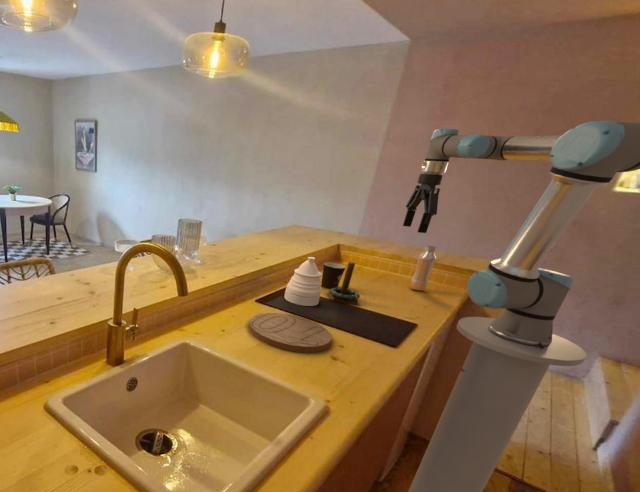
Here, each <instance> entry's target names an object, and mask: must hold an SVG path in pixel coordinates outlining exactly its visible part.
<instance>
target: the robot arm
mask: <svg viewBox="0 0 640 492" xmlns="http://www.w3.org/2000/svg"><path fill="white" fill-rule="evenodd" d="M459 132H460V131H459V129H457V128H437V129H435V130H434V131H433V133H432V136H431V138H430V140H429V143H428V147H427V150H426V153H425V156H424V160H423V163H421V169H420V172H421V173H420V174H419V176H418V179H417V181H416V182H417V185H415V188H414V190H413V192H412V194H411V196H410V197H409V199H408V201H407V203H406V204H405V208H407V210H406V213H405V217H404V220H403V223H402V227H408V228H409V227H412V224H413V220H414V218H415V215H416V212H417V208H418V206H419V205H420V204H421V202H422V201H423V205H424V206H423V209H424V212H423V213H422V217H421V220H420V223H419V226H418V229H417V233H419V234H420V233H421V234H427V232H428V229H429V227H430V224H431V220H432V217H434V216H436V215H437V214H438V206H439V195H440V191H441V188H440V187H436V186H441V185H442V183H443V180H444V177H445V176H444V175H443V174H445V173H446V171H447V169H448V165H449V163H450V160H451V158H457V159H475V160H477V159H478V160H493V161H523V162H524V161H525V162H526V161H527V162H550V163H551V164H552V166H551V168H550V170H549V171H548V172H549V175H550V177H551V181H550V183H548V186H547V187H546V188H545V190H544V192H543V193H542V195H541V196H540V198H539V199H538V201H537V202H536V204H535V206H534V207H533V209H532V210H531V211H530V213H529V214H528V216H527V217H526V219H525V221H524V222H523V223H522V225H521V226H520V228H519V229H518V231H517V233H516V234H515V235H514V237H513V239H512V240H511V242H510V244H509V245H508V246H507V248H506V250H505V251H504V253H502V256H501V257H499V258H495V259H492V260H491V261H490V263H489V264H488V266H487V267H486V269H485V270H484V269H481V270H479V271H476V272H474V273H473V274H472V275H471V276H470V277H469V279H468V281H467V285H466V288H467V292H468V297H469V298H470V300H471V301H472V302H473V303H474V304H475V305H476V306H479V307H481V308H485V309H487V308H488V309H492V310H498V309H502V311H501V312H500V313H499V314H498V315H497V316H496V317H495V318H494V321H492V322H491V323H490V325H489V327H488V330H489V331H490V332H491V333H492V334H494V335H496V336H498V337H500V338H503V339H505V340H508V341H511V342H515V343H518V344H522V345H527V346H533V347H541V349H544V347H548V346H550V344H551V342H552V334H553V327H554V326H553V323H554V320H555V318H556V316H557V314H558V313H559V310H560V308H561V307H562V305H563V303H564V301H565V299H566V297H567V295H568V293H569V291H570V290H571V286H572V284H573V282H574V280H573V278H572V276H570V275H568V274H566V273H562V272H558V271H555V270H550V269H546V268H543V267H540V265H541V264H542V262H544V260H545V258H547V256H548V254H550V251H552V249H553V248H554V246H555V245H556V244H557V242H558V241H559V240H560V238H561V236H562V235H563V234H564V232H565V231H566V230H567V229H568V227H569V226H570V224H571V223H572V222H573V220H574V219H575V217H576V216H577V215H578V214H579V212H580V211H581V209H582V208H583V207H584V205H585V204H586V203H587V201H588V200H589V198H590V197H591V196H592V194H593V193H594V191H595V190H596V189H598V188H600V187H602V186H605V185H608V184H610V182H611V181H612V180H613V179H614V178H615V175H616V174H617V173H629V172H634V171H635V172H636V171H638V170H640V122H628V121H627V122H626V121H616V120H594V121H593V120H592V121H588V122H584V123H581V124H578V125H576V126H575V127H572V128H570V129H569V130H567V131H566V132H564V134H558V135H555V134H553V135H552V134H551V135H516V136H515V135H511V136H510V135H508V136H505V135H503V136H502V135H485V134H482V133H481V134H480V133H471V134H459Z"/></svg>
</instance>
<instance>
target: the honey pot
mask: <svg viewBox="0 0 640 492" xmlns="http://www.w3.org/2000/svg"><path fill="white" fill-rule="evenodd" d="M315 260H316V257H313V256H307V260H305V261H303V262H302V263H301V264H300V265H299V267H298V268H295V269H294V273H293V275H292V276H291V277H290V280H289V282H288V283H287V285H286V287H285V291H284V299H285V300H286V301H287V302H288V303H291V304H294V305H298V306H302V307H303V306H305V307H315V306H317V305H319V302H320V299H321V298H320V297H321V294H322V286H321V284H322V281H321V279H320V278H322V275H323V273H322V272H320V271H319V269H318V265H317V264H316V262H315Z"/></svg>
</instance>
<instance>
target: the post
mask: <svg viewBox="0 0 640 492" xmlns="http://www.w3.org/2000/svg"><path fill="white" fill-rule="evenodd" d="M355 266H356V263H355V262H352V261H348V263H347V265H346V268H345V273H344V277H343V280H342V284H341V287H340V288H341V291H340V292H337V293H340V294H344V295H350V294H347V291H348V289H349V287H350V283H351V280H352V277H353V274H354V273H353V272H354V269H355ZM327 295H328V297H329V298H330V300H331V301H332V302H333V303H341V304H350V305H358V302H359V301H358V299H357V300H343V299H339V298H336V297H334V296H332V295H331V294H330V293H329V290H328V291H327Z"/></svg>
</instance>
